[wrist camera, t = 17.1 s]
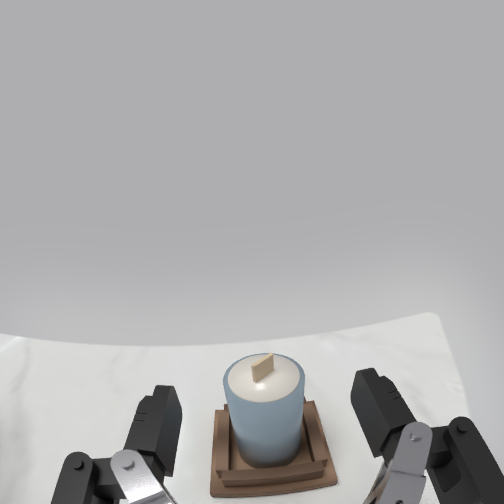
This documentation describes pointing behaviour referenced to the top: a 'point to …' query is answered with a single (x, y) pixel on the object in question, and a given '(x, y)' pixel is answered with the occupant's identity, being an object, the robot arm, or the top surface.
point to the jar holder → (277, 478)
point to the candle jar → (266, 408)
